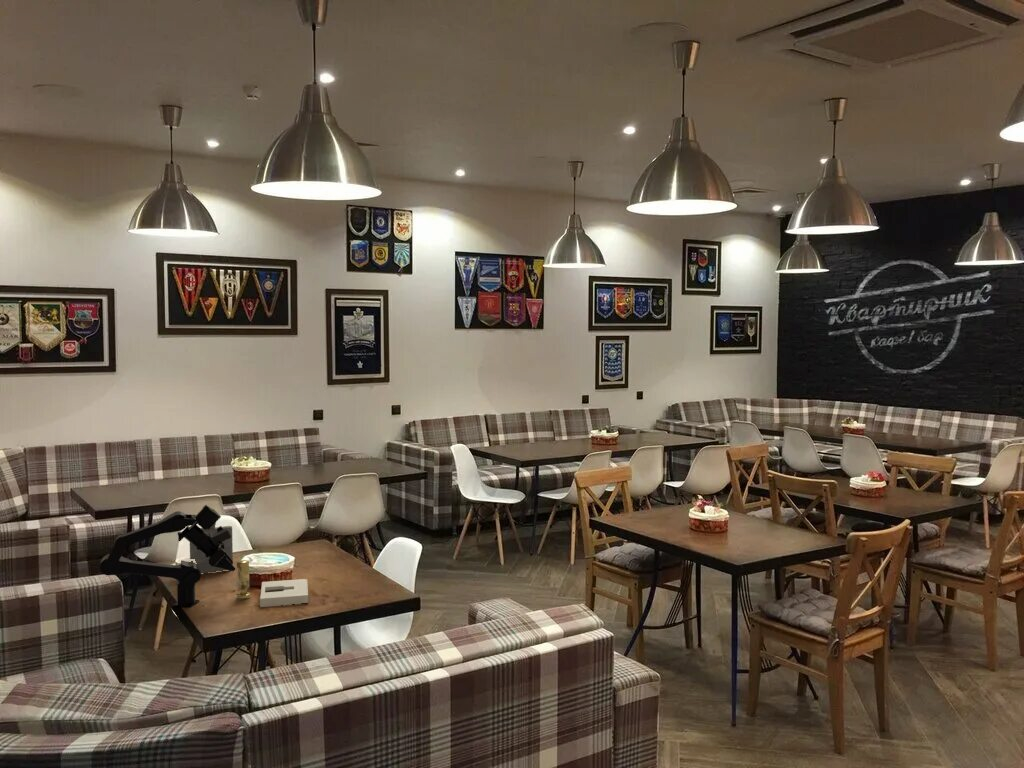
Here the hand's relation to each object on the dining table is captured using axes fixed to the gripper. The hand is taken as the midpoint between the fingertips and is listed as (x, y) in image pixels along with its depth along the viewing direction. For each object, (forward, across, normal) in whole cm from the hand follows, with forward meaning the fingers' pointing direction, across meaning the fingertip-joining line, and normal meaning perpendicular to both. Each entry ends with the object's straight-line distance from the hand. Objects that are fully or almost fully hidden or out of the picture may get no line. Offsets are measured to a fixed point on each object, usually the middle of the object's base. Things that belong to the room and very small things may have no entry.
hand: (233, 566), depth 295 cm
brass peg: (+10, 0, +6) cm, 12 cm away
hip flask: (+4, +38, +12) cm, 40 cm away
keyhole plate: (+19, -4, -3) cm, 20 cm away
